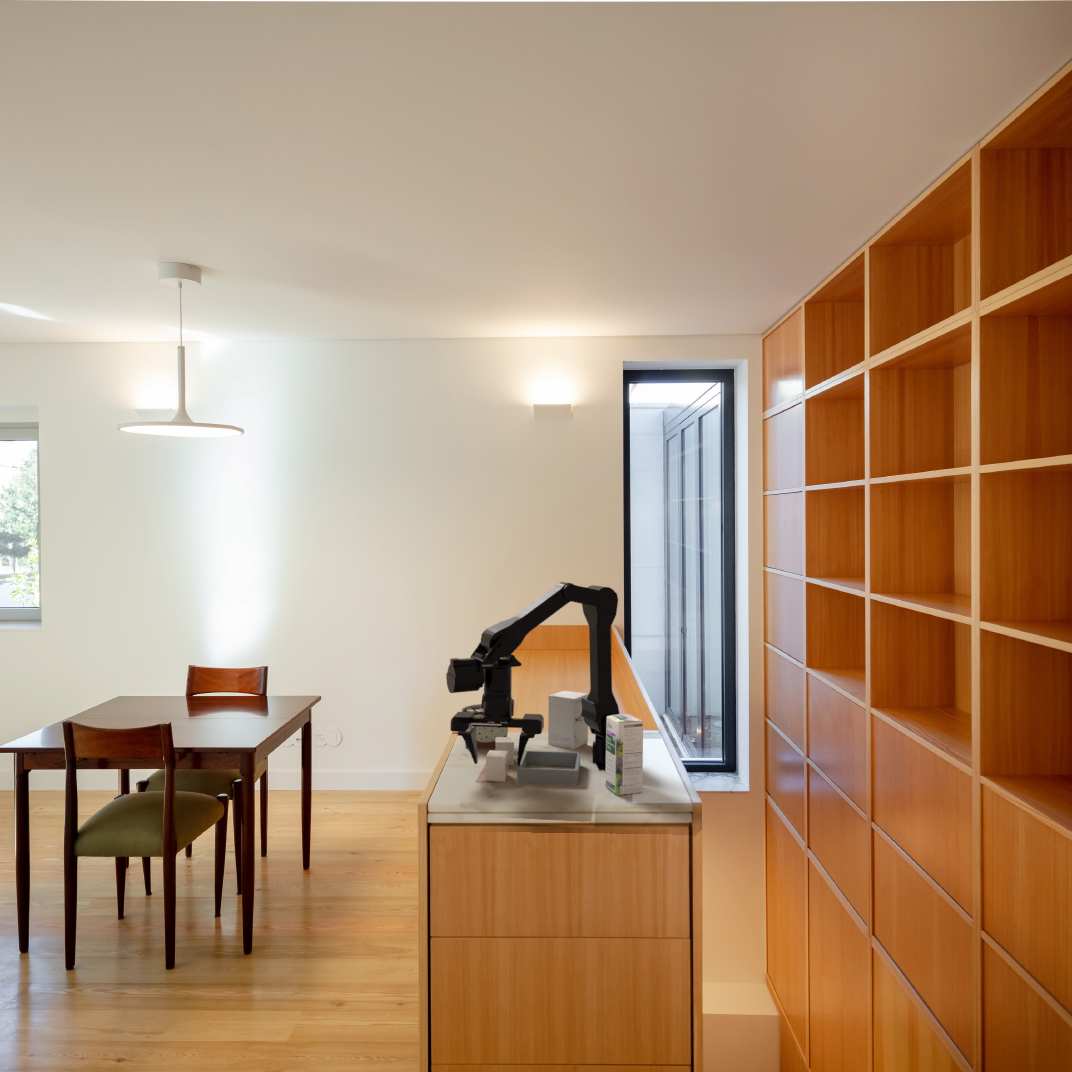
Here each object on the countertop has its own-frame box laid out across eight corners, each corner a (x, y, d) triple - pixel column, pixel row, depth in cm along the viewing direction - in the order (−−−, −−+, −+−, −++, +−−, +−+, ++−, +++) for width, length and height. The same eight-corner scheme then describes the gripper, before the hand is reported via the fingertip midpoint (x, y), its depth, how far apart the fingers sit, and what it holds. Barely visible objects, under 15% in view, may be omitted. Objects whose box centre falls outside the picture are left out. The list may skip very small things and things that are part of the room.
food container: (515, 745, 173) (515, 704, 173) (511, 753, 167) (511, 710, 166) (464, 743, 174) (465, 702, 174) (459, 751, 168) (459, 708, 168)
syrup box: (604, 787, 144) (604, 715, 144) (629, 783, 147) (630, 712, 147) (617, 796, 139) (618, 722, 139) (644, 792, 141) (644, 719, 141)
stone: (508, 774, 149) (508, 750, 149) (505, 781, 145) (505, 756, 145) (489, 774, 149) (489, 750, 149) (485, 780, 145) (485, 756, 145)
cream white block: (513, 759, 159) (513, 737, 159) (513, 765, 155) (514, 742, 155) (495, 759, 159) (495, 737, 159) (495, 765, 155) (495, 742, 155)
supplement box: (573, 752, 167) (574, 699, 167) (547, 747, 171) (547, 694, 171) (589, 745, 173) (589, 693, 173) (562, 740, 177) (563, 689, 177)
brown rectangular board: (524, 762, 160) (524, 758, 160) (514, 787, 144) (514, 783, 144) (489, 761, 161) (489, 757, 161) (475, 785, 145) (475, 781, 145)
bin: (580, 768, 155) (580, 752, 155) (577, 788, 143) (577, 770, 143) (524, 766, 157) (524, 750, 157) (517, 786, 145) (517, 768, 145)
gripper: (546, 682, 154) (546, 754, 154) (461, 679, 156) (461, 750, 156) (541, 693, 143) (540, 771, 143) (449, 690, 145) (449, 767, 145)
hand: (497, 764), depth 147 cm, fingers open, 9 cm apart
